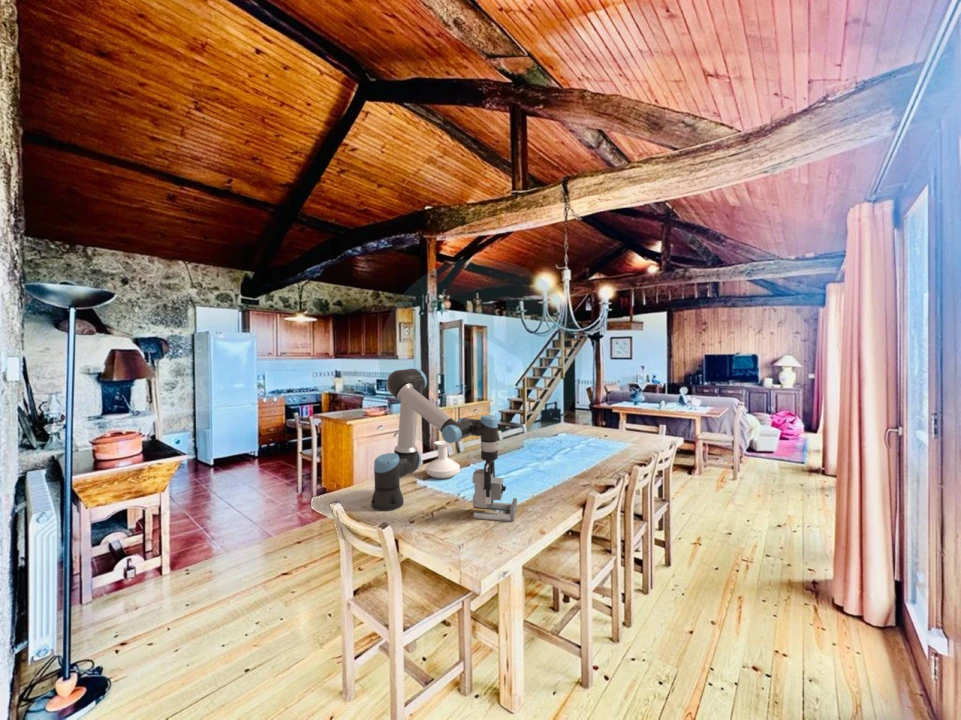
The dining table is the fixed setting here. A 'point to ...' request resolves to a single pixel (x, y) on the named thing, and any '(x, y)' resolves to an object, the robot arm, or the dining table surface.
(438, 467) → the white vase
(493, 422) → the robot arm
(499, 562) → the dining table surface
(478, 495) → the circuit breaker
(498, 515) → the channel
